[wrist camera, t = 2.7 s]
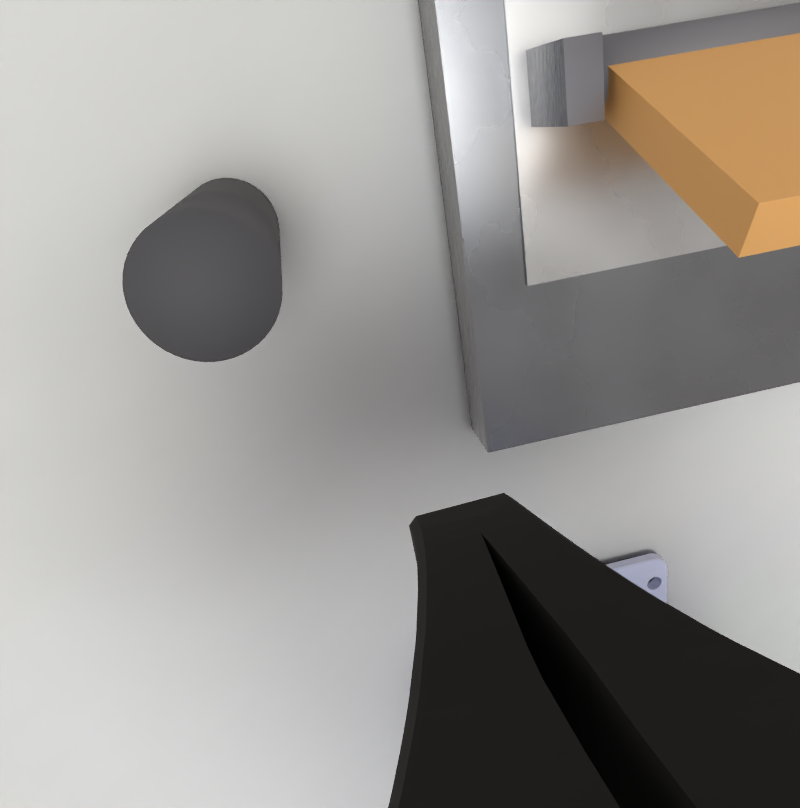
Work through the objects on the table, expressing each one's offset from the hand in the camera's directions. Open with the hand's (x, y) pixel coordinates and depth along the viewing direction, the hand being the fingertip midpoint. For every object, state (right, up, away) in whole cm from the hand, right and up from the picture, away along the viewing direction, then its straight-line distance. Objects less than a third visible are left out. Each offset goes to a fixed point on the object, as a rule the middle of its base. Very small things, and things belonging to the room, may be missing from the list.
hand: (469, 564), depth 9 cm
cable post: (-5, +7, +8) cm, 11 cm away
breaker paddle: (+6, +10, +6) cm, 13 cm away
